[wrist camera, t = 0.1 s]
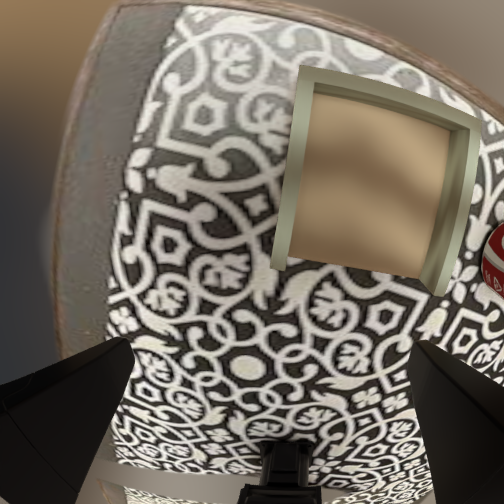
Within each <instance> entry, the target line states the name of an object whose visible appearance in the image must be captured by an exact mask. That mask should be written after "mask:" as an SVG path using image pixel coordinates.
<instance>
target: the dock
mask: <svg viewBox="0 0 504 504" xmlns="http://www.w3.org/2000/svg"><path fill="white" fill-rule="evenodd" d="M481 124H482V120H480V119H478V118H476V117H474V116H471V115H469V114H467V113H465V112H463V111H460V110H458V109H456V108H454V107H451V106H449V105H446V104H444V103H441V102H439V101H436V100H434V99H431V98H428V97H426V96H423V95H420V94H417V93H415V92H412V91H409V90H406V89H403V88H399V87H396V86H393V85H390V84H386V83H383V82H379V81H375V80H372V79H368V78H364V77H360V76H356V75H351V74H347V73H342V72H338V71H333V70H328V69H322V68H316V67H310V66H304V65H300V66H299V73H298V81H297V89H296V96H295V104H294V111H293V118H292V125H291V133H290V140H289V147H288V153H287V160H286V167H285V174H284V181H283V187H282V194H281V200H280V207H279V213H278V219H277V226H276V232H275V238H274V244H273V251H272V257H271V263H270V269H276V270H281V271H285V268H286V263H287V257H288V256H289V257H295V258H301V259H306V260H312V261H318V262H324V263H329V264H335V265H341V266H347V267H352V268H358V269H364V270H370V271H375V272H381V273H387V274H393V275H398V276H404V277H410V278H416V279H419V280H420V281H421V282H422V283H423V284H424V285H425V286H426V287H427V289H428V290H429V291H430V292H431V293H432V294H433V295H435V296H441V297H444V295H445V292H446V289H447V287H448V284H449V281H450V278H451V275H452V272H453V269H454V266H455V263H456V259H457V256H458V253H459V249H460V246H461V242H462V238H463V235H464V231H465V227H466V223H467V218H468V214H469V210H470V205H471V200H472V195H473V189H474V184H475V178H476V171H477V164H478V156H479V148H480V137H481Z"/></svg>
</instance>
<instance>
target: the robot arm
mask: <svg viewBox="0 0 504 504" xmlns="http://www.w3.org/2000/svg"><path fill="white" fill-rule="evenodd" d="M134 364H135V357H134V354H133V351H132V348H131V345H130V342H129V340H128V339H127V338H125V337H114V338H112V339H110V340H107V341H105V342H103V343H101V344H98V345H96V346H94V347H91V348H89V349H87V350H85V351H82V352H80V353H78V354H75V355H73V356H71V357H69V358H66V359H64V360H62V361H59V362H57V363H55V364H52V365H50V366H47V367H45V368H43V369H40V370H38V371H36V372H35V373H31V374H28V375H26V376H24V377H21V378H19V379H16V380H13V381H11V382H8V383H5V384H2V385H0V504H75V502H76V500H77V497H78V495H79V494H78V493H79V492H80V490H81V487H82V485H83V482H84V480H85V478H86V475H87V473H88V471H89V469H90V466H91V464H92V462H93V460H94V457H95V455H96V453H97V451H98V448H99V446H100V444H101V442H102V440H103V437H104V435H105V433H106V431H107V429H108V427H109V425H110V422H111V420H112V418H113V416H114V414H115V412H116V410H117V408H118V406H119V404H120V401H121V399H122V397H123V394H124V391H125V389H126V386H127V383H128V380H129V378H130V375H131V372H132V370H133V367H134ZM407 367H408V374H409V379H410V384H411V390H412V395H413V401H414V407H415V411H416V415H417V419H418V423H419V426H420V430H421V434H422V438H423V442H424V446H425V450H426V454H427V458H428V463H429V468H430V472H431V477H432V482H433V488H434V493H435V499H436V504H504V387H503V386H502V385H500V384H498V383H497V382H495V381H494V380H492V379H490V378H489V377H487V376H485V375H484V374H482V373H481V372H479V371H477V370H476V369H474V368H472V367H471V366H469V365H467V364H466V363H464V362H463V361H461V360H459V359H458V358H456V357H454V356H453V355H451V354H449V353H448V352H446V351H444V350H443V349H441V348H439V347H438V346H436V345H434V344H433V343H431V342H429V341H428V340H418V341H415V342H414V343H413V345H412V349H411V352H410V356H409V360H408V365H407ZM313 447H314V443H313V442H310V441H309V442H281V441H261V442H260V454H261V462H262V471H261V477H260V483H259V485H250V484H245V486H244V488H243V489H241V491H240V496H239V499H238V502H237V504H322V499H321V486H311V487H308V473H309V468H310V467H311V461H312V454H313Z"/></svg>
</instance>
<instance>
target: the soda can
mask: <svg viewBox="0 0 504 504" xmlns="http://www.w3.org/2000/svg"><path fill="white" fill-rule="evenodd" d="M481 270H482V276H483V279H484V281H485V283H486V285H487V286H488V287H489V288H490V289H491V290H493V291H494V292H495V293H496V294H497V295H498V296H500V297H501V298H502V299H503V300H504V222H503V223H501V224H500V225H498V226H497V227H496V228H495V229H494V231H493V232H492V233H491V235H490V236H489V238H488V240H487V242H486V245H485V248H484V251H483V255H482V263H481Z"/></svg>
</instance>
